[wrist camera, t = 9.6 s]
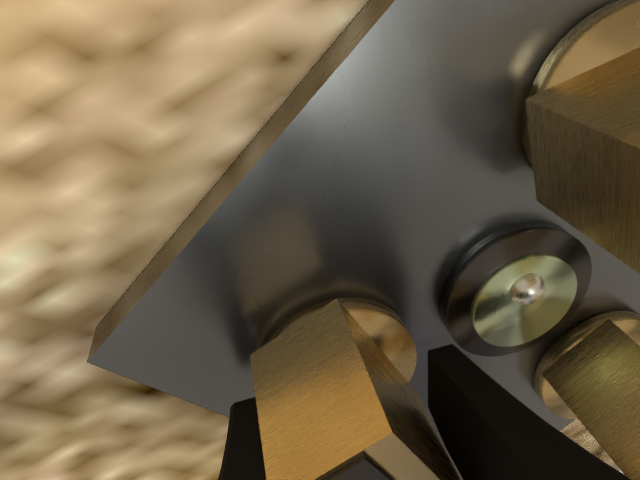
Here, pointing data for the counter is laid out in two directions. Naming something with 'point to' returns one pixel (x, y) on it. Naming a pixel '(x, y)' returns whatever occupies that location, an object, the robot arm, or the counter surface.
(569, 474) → the robot arm
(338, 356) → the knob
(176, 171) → the counter surface
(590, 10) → the base plate
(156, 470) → the counter surface
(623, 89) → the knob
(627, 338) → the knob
